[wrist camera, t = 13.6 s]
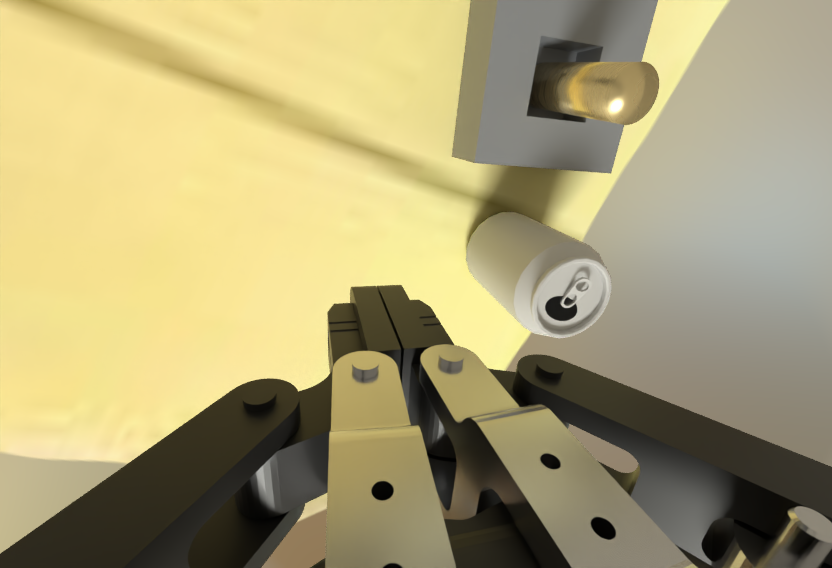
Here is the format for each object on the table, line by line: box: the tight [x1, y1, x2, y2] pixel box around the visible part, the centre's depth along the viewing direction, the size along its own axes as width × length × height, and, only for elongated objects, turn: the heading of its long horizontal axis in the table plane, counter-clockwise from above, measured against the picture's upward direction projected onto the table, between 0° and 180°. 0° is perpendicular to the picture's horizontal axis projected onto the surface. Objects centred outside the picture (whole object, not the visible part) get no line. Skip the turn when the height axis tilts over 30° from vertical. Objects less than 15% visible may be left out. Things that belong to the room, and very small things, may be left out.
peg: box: [529, 62, 659, 125], centre depth 26 cm, size 3×3×10 cm
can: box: [466, 212, 612, 338], centre depth 32 cm, size 8×8×12 cm
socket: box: [452, 0, 658, 173], centre depth 30 cm, size 12×12×5 cm
